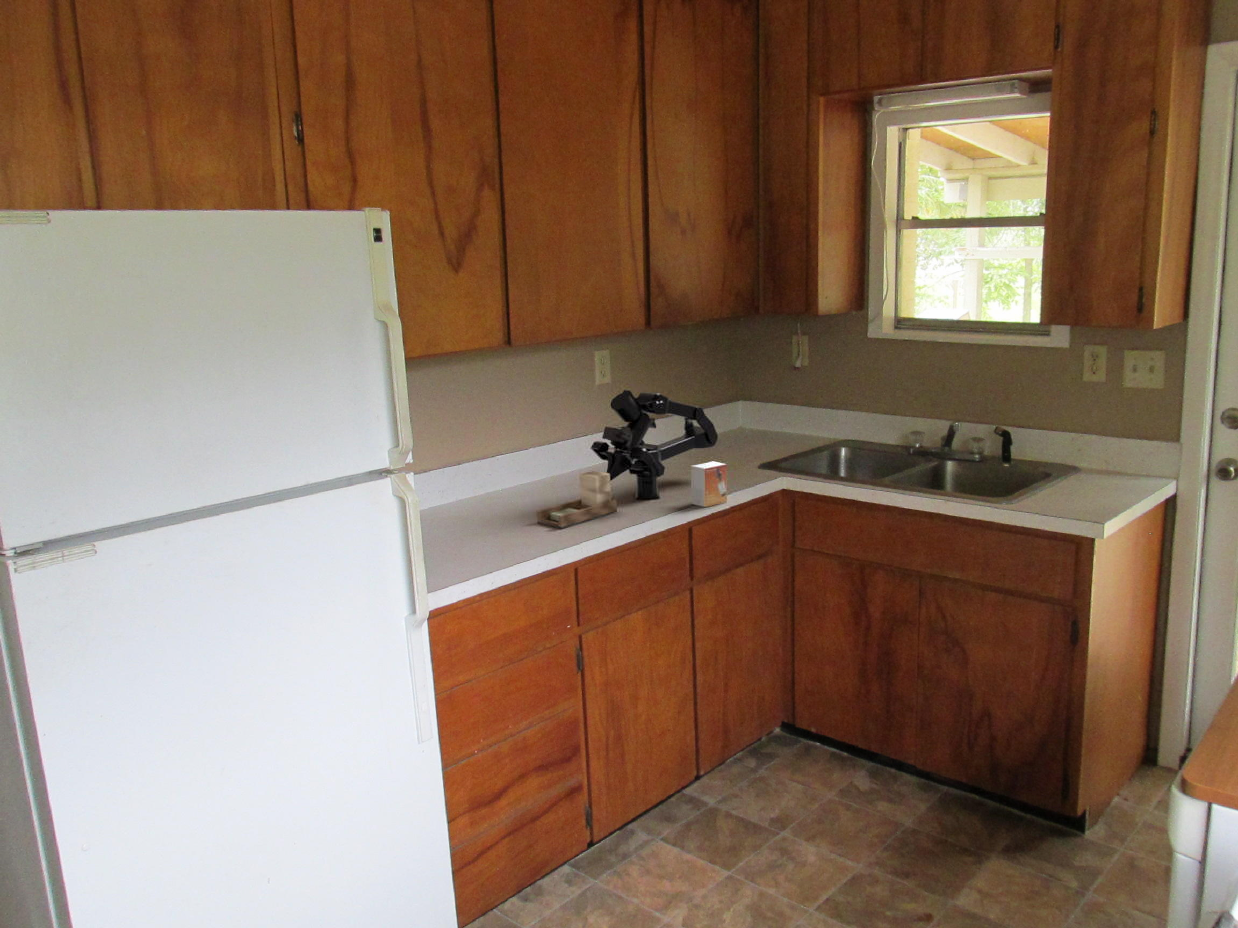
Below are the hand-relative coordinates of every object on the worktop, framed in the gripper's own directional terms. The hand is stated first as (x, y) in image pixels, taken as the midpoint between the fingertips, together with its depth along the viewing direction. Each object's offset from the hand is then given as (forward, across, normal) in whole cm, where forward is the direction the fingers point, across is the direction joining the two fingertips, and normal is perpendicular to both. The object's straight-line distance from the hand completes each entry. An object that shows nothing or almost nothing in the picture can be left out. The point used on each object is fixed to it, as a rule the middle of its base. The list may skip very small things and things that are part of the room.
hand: (607, 480), depth 272 cm
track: (+13, 0, -3) cm, 14 cm away
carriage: (+7, 0, +1) cm, 7 cm away
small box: (-8, +18, +19) cm, 28 cm away
